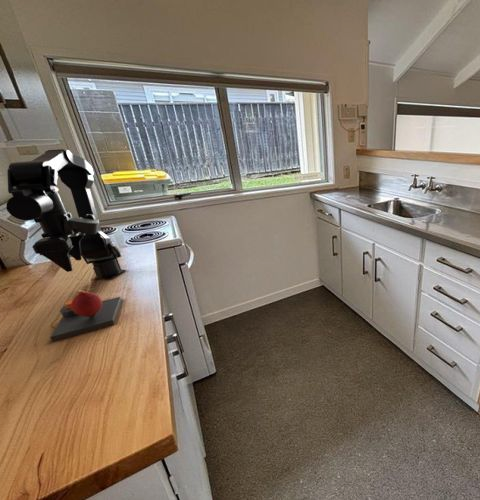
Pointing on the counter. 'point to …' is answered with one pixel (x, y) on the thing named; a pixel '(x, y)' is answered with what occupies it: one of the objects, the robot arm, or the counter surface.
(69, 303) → the tare button
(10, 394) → the counter surface
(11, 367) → the counter surface
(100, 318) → the scale
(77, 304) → the onion
